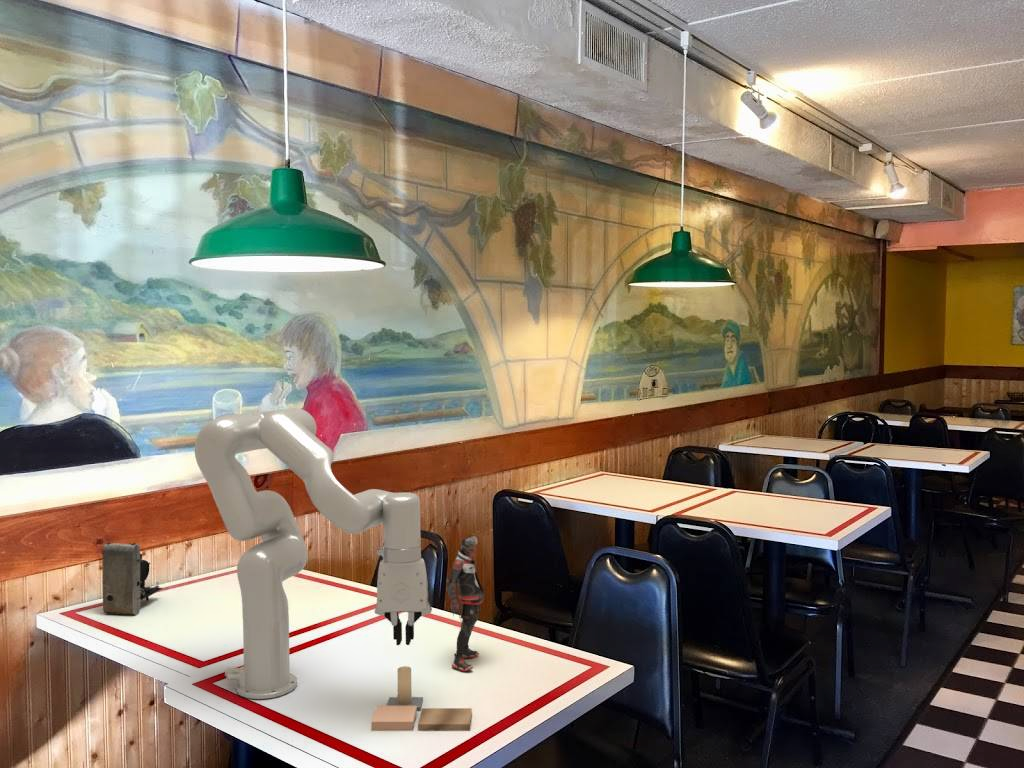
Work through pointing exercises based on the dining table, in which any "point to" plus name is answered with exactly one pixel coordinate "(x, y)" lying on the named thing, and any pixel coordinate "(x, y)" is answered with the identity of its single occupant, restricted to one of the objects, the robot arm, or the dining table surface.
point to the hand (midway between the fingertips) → (403, 642)
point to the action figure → (465, 600)
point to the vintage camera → (124, 579)
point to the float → (405, 691)
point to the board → (445, 719)
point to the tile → (394, 718)
